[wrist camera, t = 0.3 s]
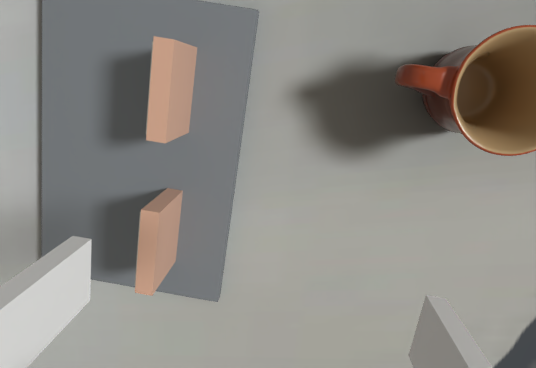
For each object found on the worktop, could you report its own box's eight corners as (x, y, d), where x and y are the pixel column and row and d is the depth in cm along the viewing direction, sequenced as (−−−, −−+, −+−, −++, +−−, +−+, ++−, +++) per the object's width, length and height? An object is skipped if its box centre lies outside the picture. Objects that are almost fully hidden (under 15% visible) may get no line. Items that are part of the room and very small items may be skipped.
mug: (521, 50, 35) (608, 37, 25) (489, 144, 38) (558, 166, 28) (390, 26, 36) (426, 4, 26) (367, 121, 38) (391, 134, 28)
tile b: (165, 187, 40) (138, 209, 33) (182, 190, 40) (159, 212, 33) (159, 258, 42) (132, 292, 35) (175, 261, 42) (152, 295, 35)
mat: (50, -21, 37) (42, -24, 36) (259, 12, 36) (257, 9, 35) (48, 265, 44) (41, 270, 43) (219, 296, 44) (217, 302, 43)
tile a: (178, 44, 36) (150, 35, 29) (197, 47, 36) (174, 39, 29) (170, 129, 38) (143, 139, 31) (188, 132, 38) (165, 143, 31)
